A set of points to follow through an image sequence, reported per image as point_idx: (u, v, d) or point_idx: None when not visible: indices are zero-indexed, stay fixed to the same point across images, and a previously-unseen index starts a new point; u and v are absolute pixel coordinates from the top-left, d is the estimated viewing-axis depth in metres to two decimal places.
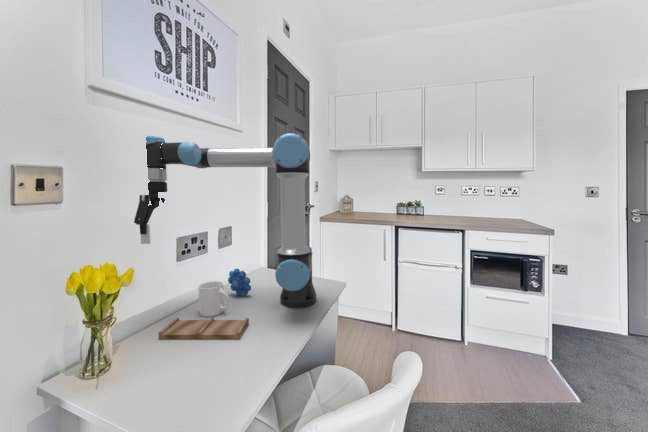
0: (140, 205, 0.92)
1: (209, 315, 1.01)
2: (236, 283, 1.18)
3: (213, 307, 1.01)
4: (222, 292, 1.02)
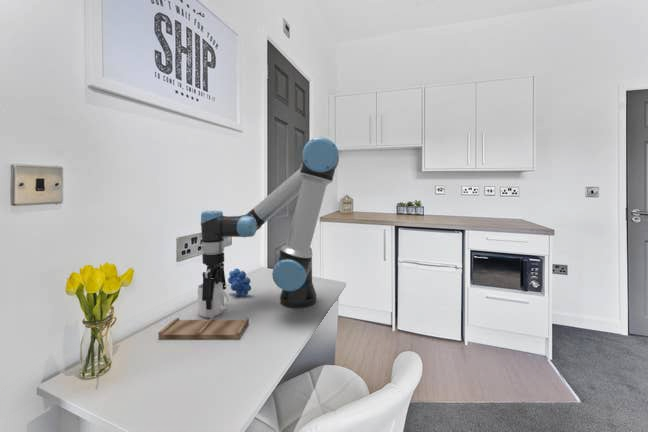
0: (205, 283, 0.96)
1: None
2: (236, 283, 1.18)
3: None
4: (222, 292, 1.01)
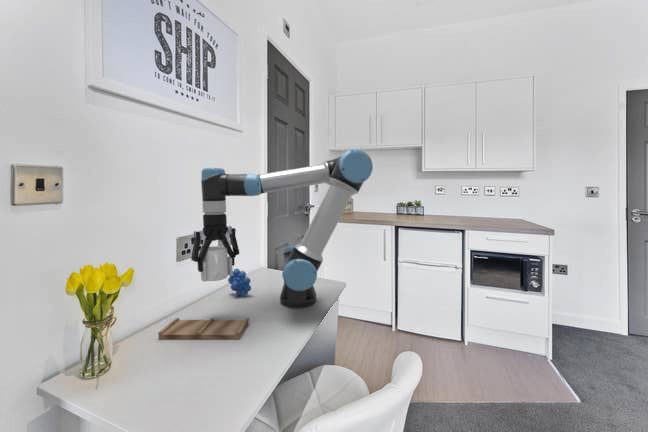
0: (194, 242, 0.92)
1: None
2: (236, 283, 1.18)
3: (207, 271, 0.94)
4: (214, 257, 0.93)
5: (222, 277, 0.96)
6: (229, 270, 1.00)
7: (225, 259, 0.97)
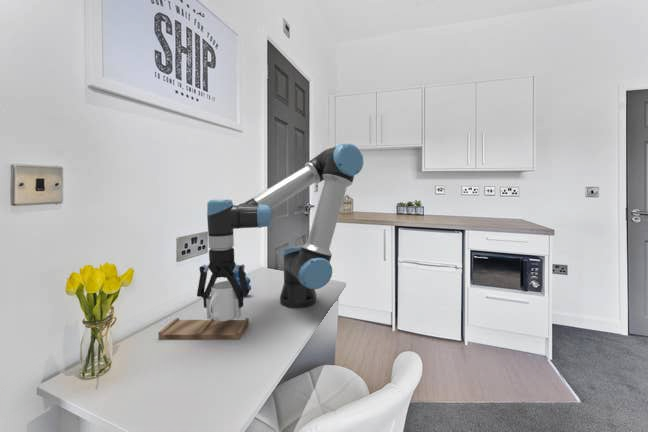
0: None
1: None
2: None
3: None
4: None
5: (223, 319, 0.87)
6: None
7: (228, 300, 0.87)
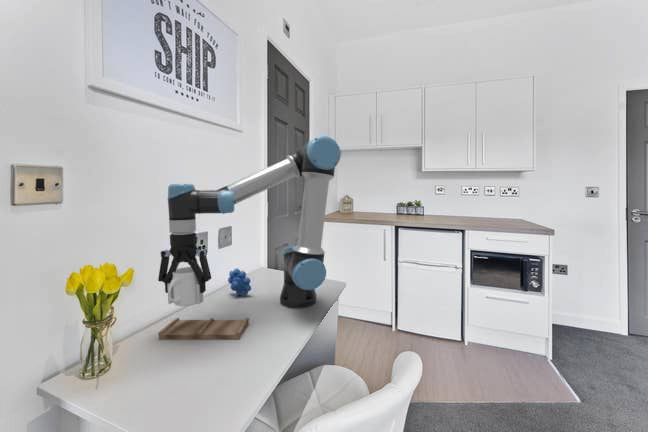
0: None
1: None
2: (236, 283, 1.18)
3: (173, 293, 0.89)
4: None
5: (184, 304, 0.87)
6: None
7: (189, 284, 0.87)
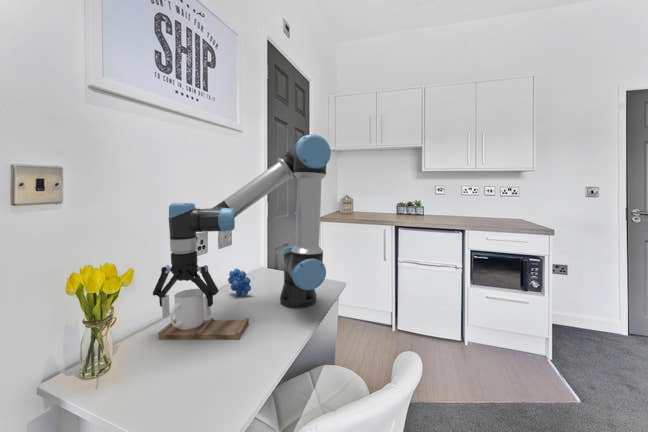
0: None
1: None
2: (236, 283, 1.18)
3: (175, 317, 0.89)
4: None
5: (186, 327, 0.88)
6: None
7: (191, 308, 0.88)
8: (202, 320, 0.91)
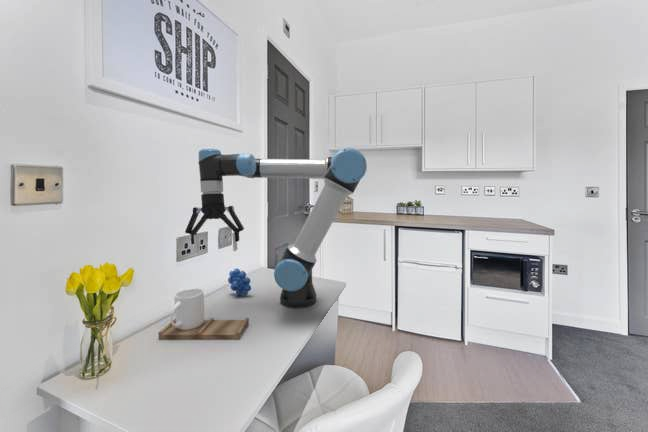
0: None
1: None
2: (236, 283, 1.18)
3: (175, 317, 0.89)
4: None
5: (186, 327, 0.88)
6: None
7: (191, 308, 0.88)
8: (202, 320, 0.91)
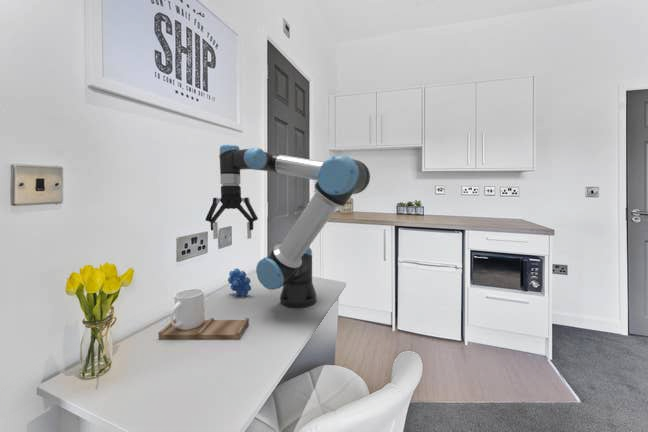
0: None
1: None
2: (236, 283, 1.18)
3: (175, 317, 0.89)
4: None
5: (186, 327, 0.88)
6: None
7: (191, 308, 0.88)
8: (202, 320, 0.91)
